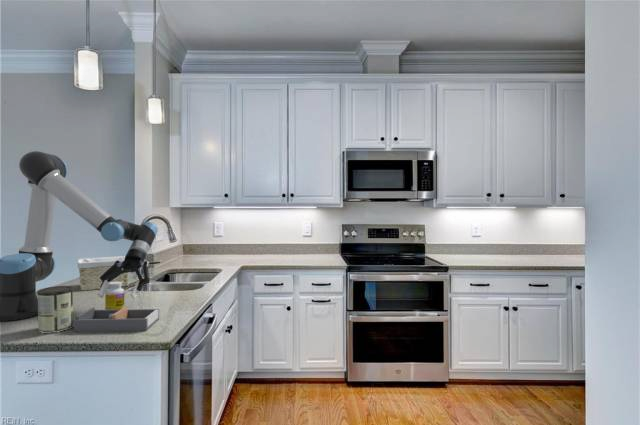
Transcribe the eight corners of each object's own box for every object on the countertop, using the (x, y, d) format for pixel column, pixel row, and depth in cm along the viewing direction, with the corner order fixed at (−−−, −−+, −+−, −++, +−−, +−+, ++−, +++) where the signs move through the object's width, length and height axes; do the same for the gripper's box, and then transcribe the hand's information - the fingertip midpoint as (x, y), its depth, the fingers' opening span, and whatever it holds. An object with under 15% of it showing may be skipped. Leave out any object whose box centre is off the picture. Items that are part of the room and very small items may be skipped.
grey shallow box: (74, 331, 133) (74, 317, 133) (93, 320, 146) (93, 307, 146) (146, 330, 135) (146, 316, 135) (159, 319, 148) (159, 306, 148)
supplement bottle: (116, 318, 149) (116, 284, 149) (101, 317, 150) (101, 284, 150) (128, 313, 156) (128, 281, 155) (113, 312, 157) (113, 280, 157)
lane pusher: (103, 326, 135) (103, 315, 135) (115, 318, 145) (115, 307, 145) (115, 326, 136) (115, 315, 136) (127, 317, 146) (127, 307, 146)
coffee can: (50, 324, 141) (50, 285, 141) (79, 324, 141) (79, 285, 141) (30, 334, 131) (29, 292, 130) (61, 333, 131) (61, 292, 131)
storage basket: (77, 292, 191) (76, 262, 191) (77, 285, 205) (77, 258, 205) (131, 287, 204) (130, 259, 203) (128, 281, 218) (128, 255, 217)
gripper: (168, 259, 169) (150, 302, 154) (113, 257, 171) (91, 300, 157) (162, 248, 163) (143, 292, 149) (105, 247, 166) (81, 290, 151)
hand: (116, 296), depth 153 cm, fingers open, 13 cm apart
